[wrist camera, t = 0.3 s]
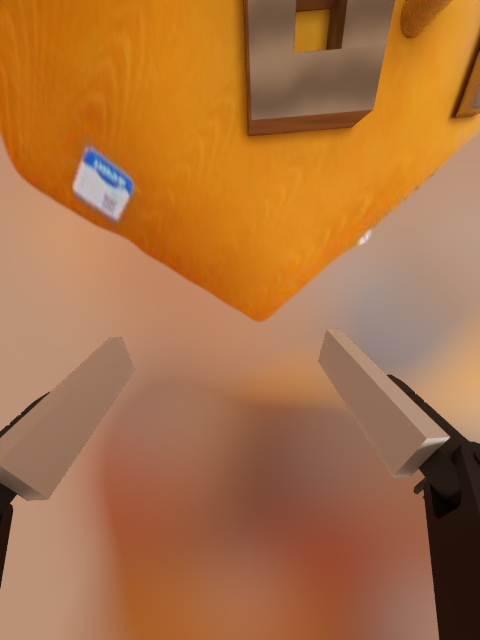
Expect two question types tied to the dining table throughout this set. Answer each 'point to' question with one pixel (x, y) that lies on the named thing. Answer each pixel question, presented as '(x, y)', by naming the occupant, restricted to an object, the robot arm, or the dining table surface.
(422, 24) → the peg
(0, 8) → the dining table surface
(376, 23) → the socket block
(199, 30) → the dining table surface
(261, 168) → the dining table surface
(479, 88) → the lying peg
